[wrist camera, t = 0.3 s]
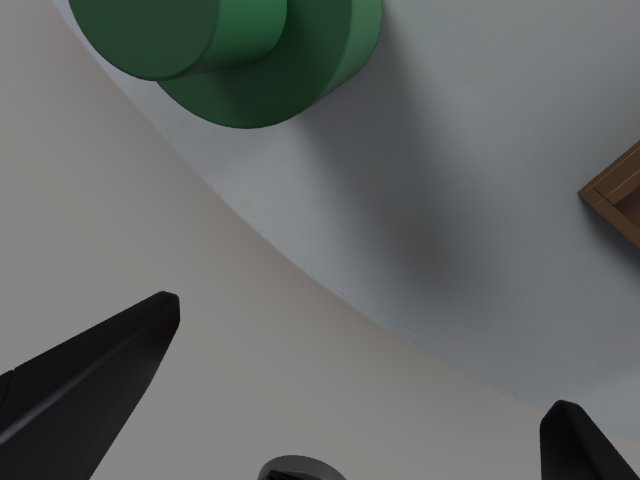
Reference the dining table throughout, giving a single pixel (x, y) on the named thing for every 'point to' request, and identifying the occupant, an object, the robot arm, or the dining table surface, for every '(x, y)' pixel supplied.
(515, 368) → the dining table surface
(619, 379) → the dining table surface
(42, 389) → the robot arm
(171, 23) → the green bottle
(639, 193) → the tray
